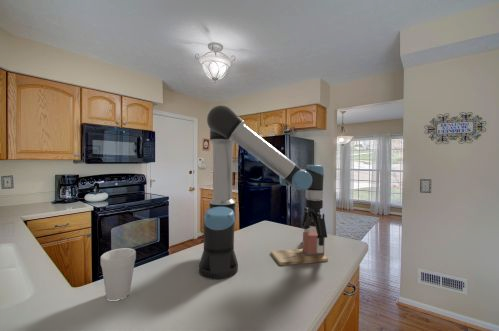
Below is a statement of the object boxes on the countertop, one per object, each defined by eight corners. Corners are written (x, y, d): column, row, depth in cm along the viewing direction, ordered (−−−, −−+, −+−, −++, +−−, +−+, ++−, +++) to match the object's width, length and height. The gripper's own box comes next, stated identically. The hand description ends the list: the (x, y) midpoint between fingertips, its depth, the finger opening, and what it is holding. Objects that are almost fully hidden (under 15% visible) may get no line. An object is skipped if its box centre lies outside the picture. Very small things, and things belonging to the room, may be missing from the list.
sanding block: (307, 256, 100) (308, 235, 100) (302, 251, 105) (303, 232, 105) (324, 255, 102) (324, 235, 102) (318, 250, 107) (318, 231, 106)
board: (279, 265, 93) (279, 262, 93) (270, 253, 105) (270, 251, 105) (327, 261, 98) (328, 258, 98) (314, 250, 110) (314, 247, 110)
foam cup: (127, 283, 77) (128, 246, 77) (140, 294, 72) (141, 253, 71) (95, 296, 70) (95, 254, 70) (106, 309, 64) (107, 263, 64)
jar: (314, 246, 116) (315, 222, 116) (301, 241, 122) (301, 219, 121) (323, 241, 122) (324, 219, 122) (310, 238, 128) (310, 216, 128)
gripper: (337, 203, 92) (335, 257, 93) (309, 195, 115) (308, 237, 116) (320, 204, 90) (318, 258, 91) (295, 195, 113) (294, 238, 114)
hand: (312, 247), depth 103 cm, fingers open, 11 cm apart
